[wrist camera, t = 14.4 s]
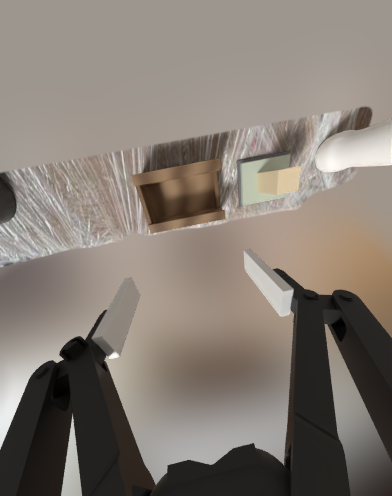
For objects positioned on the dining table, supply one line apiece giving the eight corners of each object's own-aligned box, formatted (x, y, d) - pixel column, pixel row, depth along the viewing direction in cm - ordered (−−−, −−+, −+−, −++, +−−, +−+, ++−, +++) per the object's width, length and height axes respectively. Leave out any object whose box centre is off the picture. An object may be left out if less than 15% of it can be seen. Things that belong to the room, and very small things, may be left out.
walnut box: (155, 225, 39) (150, 233, 33) (140, 176, 34) (131, 175, 27) (218, 213, 39) (225, 218, 33) (213, 162, 34) (220, 157, 27)
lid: (241, 205, 38) (258, 211, 30) (240, 164, 34) (259, 157, 25) (283, 197, 38) (313, 200, 30) (287, 154, 34) (323, 145, 26)
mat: (239, 206, 39) (239, 206, 38) (237, 161, 34) (237, 161, 34) (284, 197, 39) (285, 197, 39) (288, 151, 34) (289, 150, 34)
